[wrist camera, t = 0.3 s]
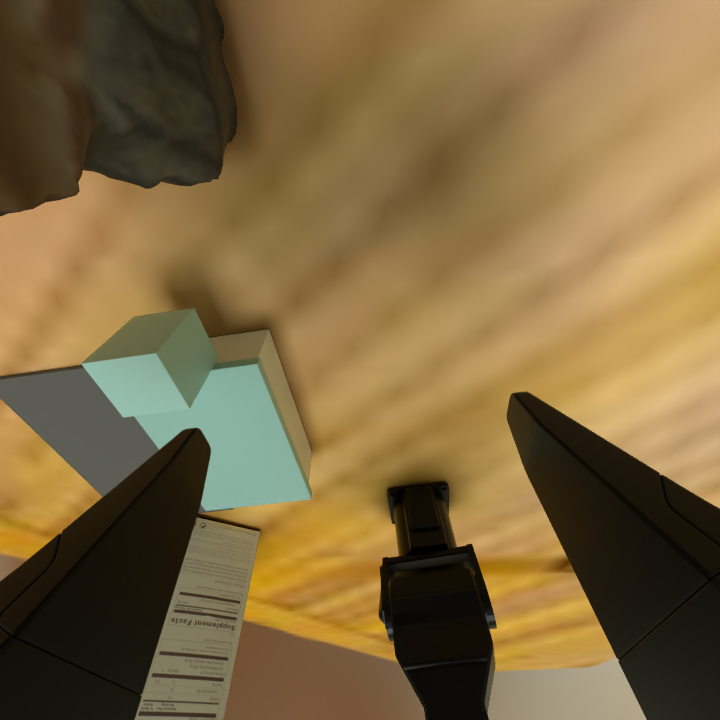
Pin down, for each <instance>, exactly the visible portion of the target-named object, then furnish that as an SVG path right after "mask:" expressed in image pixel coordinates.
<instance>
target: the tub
mask: <svg viewBox="0 0 720 720" xmlns="http://www.w3.org/2000/svg"><path fill="white" fill-rule="evenodd" d="M209 339H210V341H211V344H212V346H213V348H214V350H215V352H216V354H217V356H218V359H217V361H216V363H221V362H228V361H236V360H243V359H250V358H257V357H260V359H261V362H262V365H263V367H264V370H265V372H266V375H267V377H268V380H269V383H270V385H271V388H272V390H273V393H274V395H275V398H276V400H277V403H278V406H279V408H280V411H281V413H282V416H283V418H284V421H285V423H286V426H287V429H288V431H289V434H290V436H291V439H292V441H293V444H294V446H295V449H296V452H297V454H298V457H299V459H300V462H301V464H302V467H303V469H304V472H305V475H306V477H307V480H308V482H309V475H310V466H311V456H312V451H311V448H310V445H309V442H308V439H307V437H306V434H305V431H304V428H303V425H302V422H301V419H300V416H299V414H298V411H297V408H296V405H295V402H294V399H293V396H292V394H291V391H290V388H289V385H288V382H287V379H286V376H285V374H284V371H283V368H282V365H281V362H280V359H279V356H278V354H277V351H276V348H275V345H274V342H273V339H272V336H271V334H270V331H269V329H267V330H260V331H253V332H246V333H239V334H232V335H225V336H218V337H211V338H209Z"/></svg>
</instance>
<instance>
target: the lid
mask: <svg viewBox="0 0 720 720" xmlns="http://www.w3.org/2000/svg"><path fill="white" fill-rule="evenodd" d="M217 359H218V356H217V354H216V352H215V350H214V348H213V346H212V344H211V341H210V339H209V337H208V335H207V333H206V331H205V329H204V327H203V325H202V323H201V321H200V319H199V316H198V314H197V312H196V310H195V308H189V309H183V310H176V311H169V312H163V313H156V314H149V315H142V316H136V317H133V318H132V319H131V320H130V321H129V322H127V323H126V324H125V325H124V326H123V327H122V328H121V329H120V330H118V331H117V332H116V333H115V334H114V335H113V336H112V337H111V338H109V339H108V340H107V341H106V342H105V343H104V344H103V345H102V346H100V347H99V348H98V349H97V350H96V351H95V352H94V353H93V354H91V355H90V356H89V357H88V358H87V359H86V360H85V361H84V362H82V363H81V364H82V366H83V367H84V368H85V369H86V371H87V372H88V373H89V375H90V376H91V377H92V378H93V380H94V381H95V382H96V383H97V385H98V386H99V387H100V389H101V390H102V391H103V392H104V394H105V395H106V396H107V397H108V399H109V400H110V401H111V403H112V404H113V405H114V406H115V408H116V409H117V410H118V411H119V413H120V414H121V415H122V417H123V418H124V417H131V416H134V417H135V418H136V420H137V421H138V422H139V424H140V425H141V426H142V427H143V429H144V430H145V431H146V433H147V434H148V435H149V437H150V438H151V439H152V441H153V442H154V443H155V445H156V446H157V447H158V449H159V450H160V449H161V448H162V447H163V446H164V445H166V444H167V443H168V442H169V441H170V440H172V439H173V438H174V437H175V436H176V435H177V434H179V433H180V432H181V431H182V430H184V429H189V428H199V429H201V431H202V432H203V434H204V436H205V438H206V439H207V441H208V443H209V445H210V447H211V456H210V461H209V466H208V471H207V476H206V482H205V487H204V492H203V497H202V501H201V505H202V507H203V508H204V509H205V511H210V510H219V509H228V508H237V507H246V506H255V505H264V504H272V503H281V502H290V501H299V500H308V499H311V498H312V490H311V487H310V485H309V482H308V480H307V477H306V475H305V472H304V469H303V467H302V464H301V462H300V459H299V457H298V454H297V452H296V449H295V446H294V444H293V441H292V439H291V436H290V434H289V431H288V429H287V426H286V423H285V421H284V418H283V416H282V413H281V411H280V408H279V406H278V403H277V400H276V398H275V395H274V393H273V390H272V388H271V385H270V383H269V380H268V377H267V375H266V372H265V370H264V367H263V365H262V362H261V359H260V357H257V358H250V359H243V360H236V361H228V362H221V363H216V361H217Z"/></svg>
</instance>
